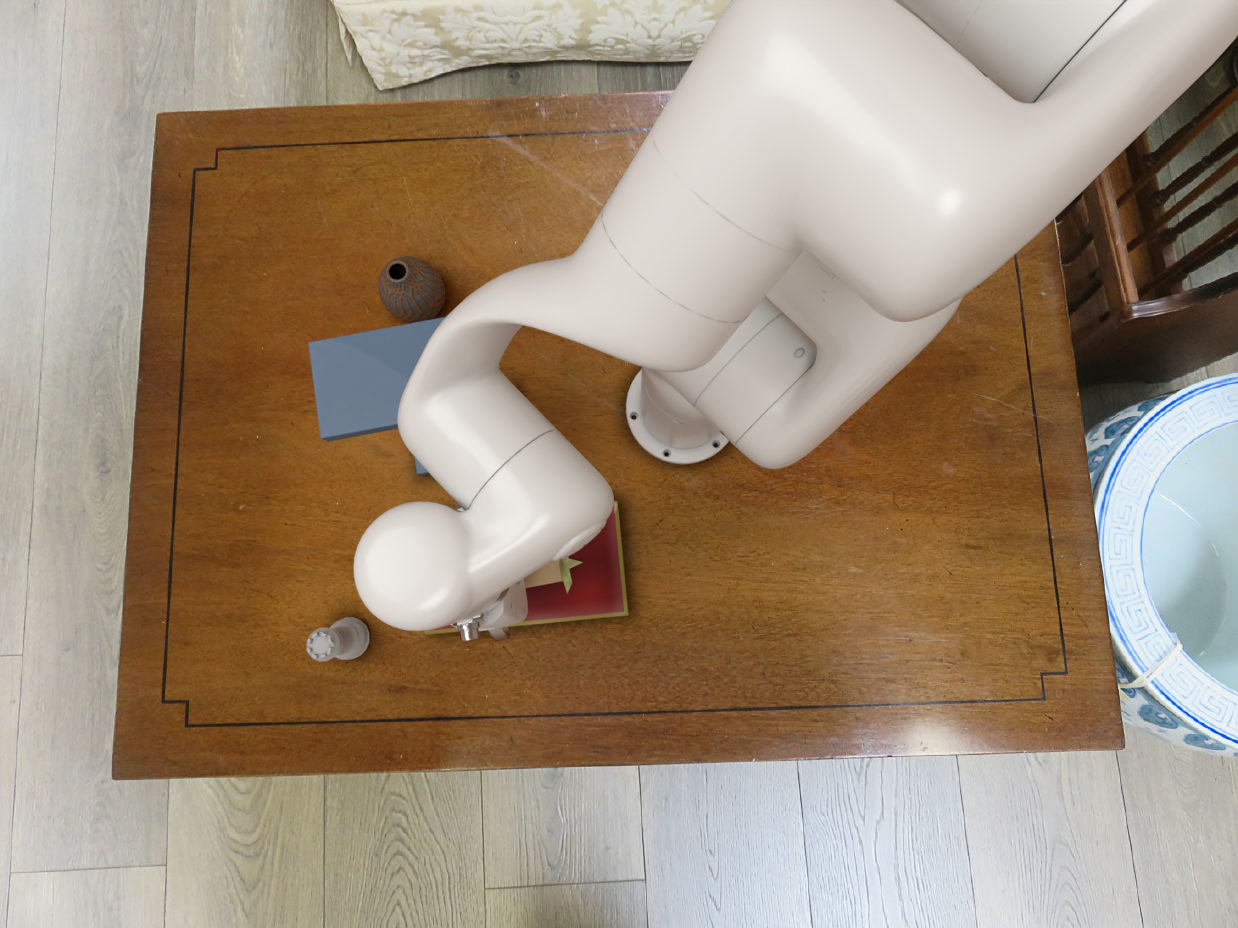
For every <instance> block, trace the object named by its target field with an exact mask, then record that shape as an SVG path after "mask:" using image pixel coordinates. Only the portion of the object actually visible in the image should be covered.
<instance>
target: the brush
mask: <svg viewBox="0 0 1238 928" xmlns="http://www.w3.org/2000/svg"><path fill="white" fill-rule="evenodd" d="M561 581H563V576H562V570H561V564H560V560H559V561H552V562H550V563H548V564H547V565H545V566H543V567H542V568H540V569H538V570H537V571H535V572H533V573H532V574H530V575H528V576H527V577H525V578H524V583H525V588H529V587H534V586H540V585H545V584H550V583H555V582H561Z"/></svg>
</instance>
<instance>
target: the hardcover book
mask: <svg viewBox="0 0 1238 928" xmlns="http://www.w3.org/2000/svg"><path fill="white" fill-rule="evenodd" d="M620 520H621V519H620V509H619V501H618V500H614V506H613V509H612V512H611V514H610V516H609V517H608V519H607V521H606V524H605V526H604V527H603V528H602V529H601V531H600V532H599V534H597V535H596V536H595V537H594V538H593V539H592V540H591V541H590V542H589V543H588V544H586V545H584V547H582V548H581V549H580V550H578V551H577V552H575V553H574V554H572V555H570V556H568V557H566V558H564V559H561V560H560V564H561V570H562V576H563V581H561V582H555V583H550V584H545V585H540V586H534V587H529V588H525V589H526V596H527V604H528V614H527V616H526V618H525V620H524V621H523V622H521V623H518V624H515V625H511V626H509V628H510V627H520V626H521V627H522V626H531V625H532V626H533V625H543V624H552V623H553V624H554V623H562V622H572V621H582V620H594V619H604V618H614V617H625V616H626V617H627V616H629V604H628V593H627V583H626V582H627V581H626V573H625V561H624V551H623V540H622V531H621V521H620ZM458 632H459V633H460V631H458V629H456V628H455V627H453V626H451V625H447V626H443V627H440V628H436V629H432V630H425V631H423V635H424V636H426V635H427V636H428V635H437V634H447V633H448V634H449V633H458Z"/></svg>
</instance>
